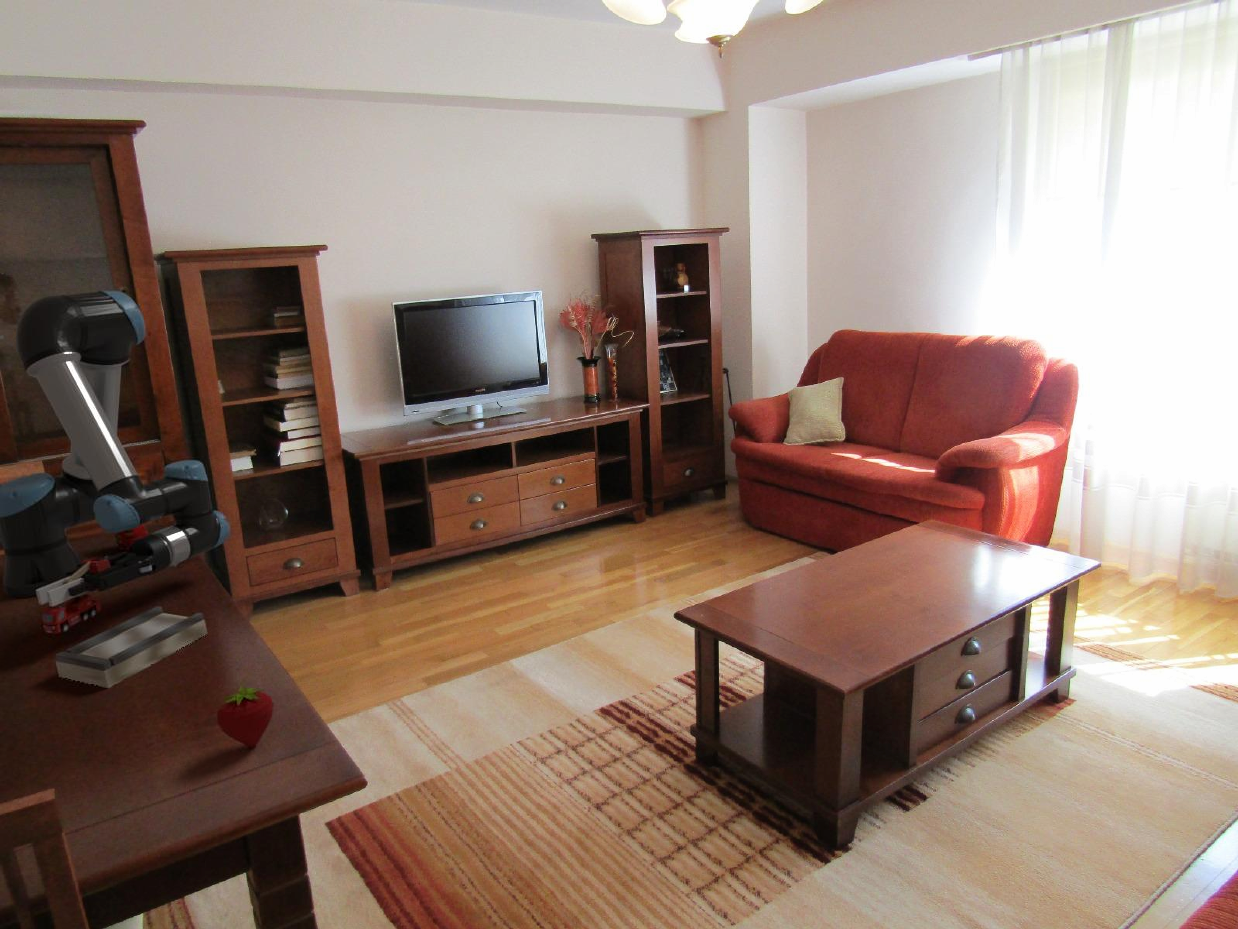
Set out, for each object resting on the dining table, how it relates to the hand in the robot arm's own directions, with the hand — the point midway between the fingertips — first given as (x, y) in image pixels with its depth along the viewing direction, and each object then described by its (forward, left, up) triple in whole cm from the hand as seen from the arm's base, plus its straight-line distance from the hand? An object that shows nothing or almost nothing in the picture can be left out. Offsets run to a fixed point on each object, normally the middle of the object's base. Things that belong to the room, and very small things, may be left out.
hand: (44, 598), depth 154 cm
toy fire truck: (-6, 0, -7) cm, 9 cm away
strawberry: (+12, +58, -11) cm, 60 cm away
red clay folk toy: (-45, -37, -11) cm, 60 cm away
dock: (-4, +16, -11) cm, 19 cm away
